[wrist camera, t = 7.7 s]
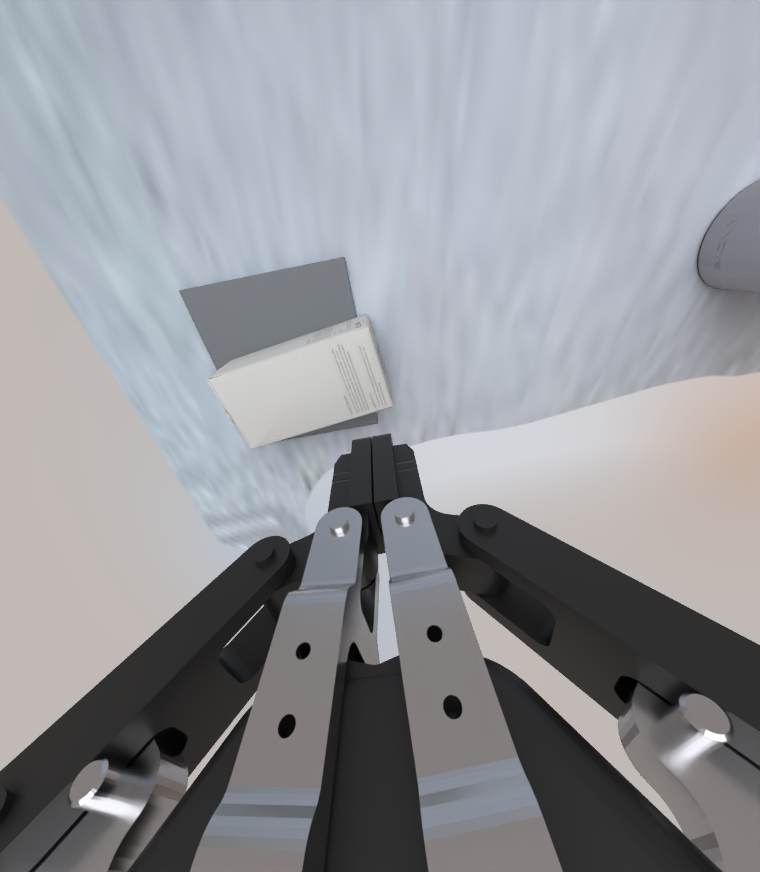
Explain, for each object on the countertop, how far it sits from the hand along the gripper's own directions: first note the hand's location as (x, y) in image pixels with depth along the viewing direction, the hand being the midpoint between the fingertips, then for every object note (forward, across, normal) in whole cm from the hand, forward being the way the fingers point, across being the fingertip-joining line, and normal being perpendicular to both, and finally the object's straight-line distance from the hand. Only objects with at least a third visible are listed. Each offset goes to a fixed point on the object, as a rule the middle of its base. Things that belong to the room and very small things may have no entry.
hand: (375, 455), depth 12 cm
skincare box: (+20, -1, +3) cm, 20 cm away
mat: (+23, +9, +2) cm, 25 cm away
